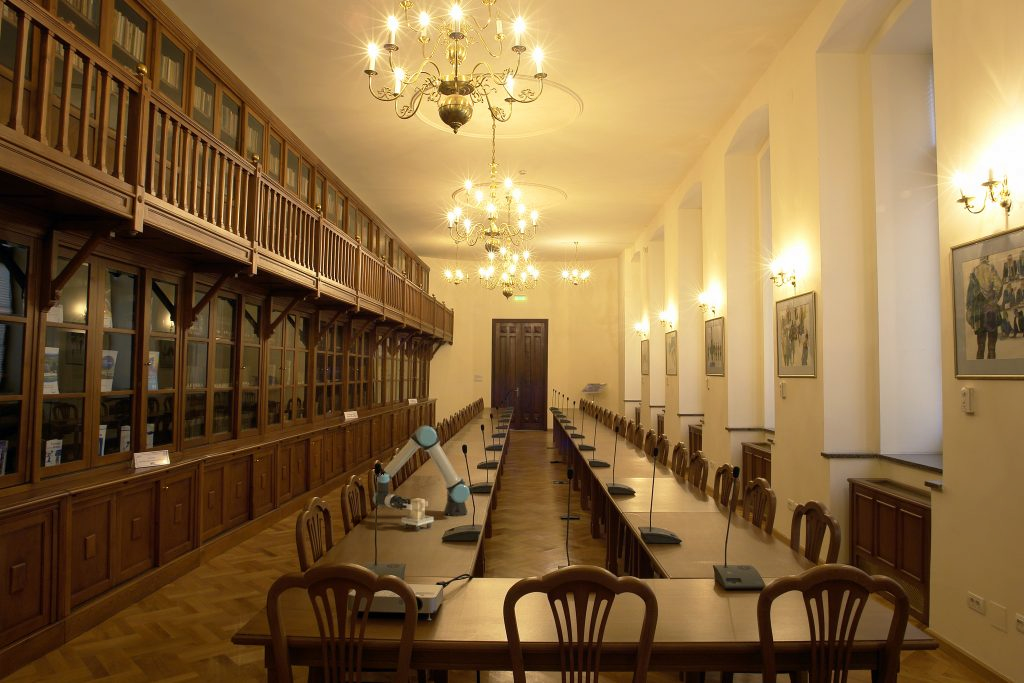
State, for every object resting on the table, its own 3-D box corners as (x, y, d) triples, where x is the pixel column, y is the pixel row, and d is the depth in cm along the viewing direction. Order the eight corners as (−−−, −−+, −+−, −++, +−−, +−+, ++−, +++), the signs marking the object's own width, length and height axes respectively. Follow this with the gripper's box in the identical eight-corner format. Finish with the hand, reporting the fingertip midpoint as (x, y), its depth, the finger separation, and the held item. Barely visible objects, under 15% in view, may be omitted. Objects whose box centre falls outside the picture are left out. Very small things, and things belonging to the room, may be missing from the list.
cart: (417, 524, 404) (417, 513, 404) (433, 527, 396) (433, 516, 396) (401, 528, 393) (401, 517, 393) (417, 531, 385) (417, 520, 386)
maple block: (417, 518, 399) (417, 498, 400) (424, 519, 395) (425, 499, 396) (410, 520, 394) (410, 499, 395) (417, 521, 391) (417, 500, 391)
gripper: (408, 504, 417) (433, 508, 404) (378, 510, 396) (404, 515, 384) (408, 492, 417) (433, 496, 405) (378, 498, 397) (404, 502, 384)
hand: (419, 505), depth 394 cm, fingers open, 13 cm apart
